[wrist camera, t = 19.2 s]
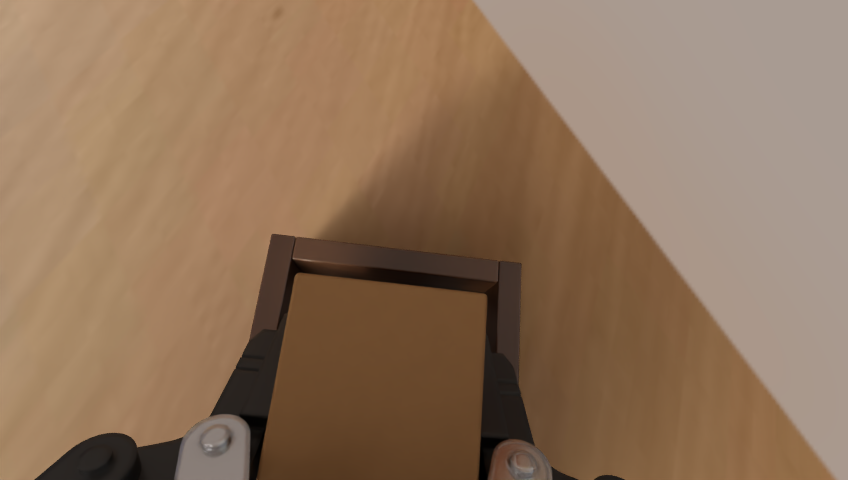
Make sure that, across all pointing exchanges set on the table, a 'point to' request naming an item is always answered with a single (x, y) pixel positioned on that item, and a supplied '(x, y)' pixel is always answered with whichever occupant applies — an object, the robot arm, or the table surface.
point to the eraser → (377, 383)
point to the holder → (393, 280)
